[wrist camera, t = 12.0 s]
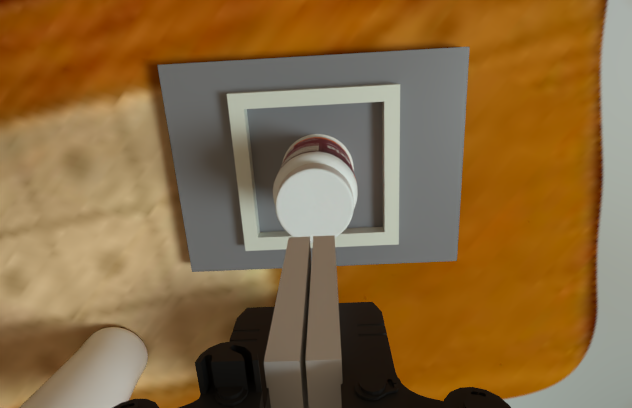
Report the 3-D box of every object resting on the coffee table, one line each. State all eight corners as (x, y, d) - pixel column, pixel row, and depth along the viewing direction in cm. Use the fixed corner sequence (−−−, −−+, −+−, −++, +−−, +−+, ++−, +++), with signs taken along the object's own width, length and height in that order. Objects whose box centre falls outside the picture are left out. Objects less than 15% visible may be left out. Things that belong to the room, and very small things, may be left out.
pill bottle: (363, 182, 29) (377, 226, 21) (303, 212, 30) (296, 265, 22) (331, 121, 28) (335, 144, 20) (270, 154, 29) (250, 188, 21)
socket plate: (197, 262, 33) (188, 278, 31) (165, 64, 29) (151, 65, 26) (451, 252, 33) (460, 266, 30) (462, 47, 28) (474, 45, 26)
